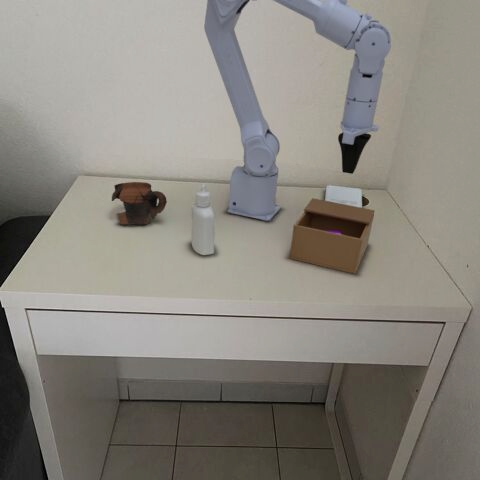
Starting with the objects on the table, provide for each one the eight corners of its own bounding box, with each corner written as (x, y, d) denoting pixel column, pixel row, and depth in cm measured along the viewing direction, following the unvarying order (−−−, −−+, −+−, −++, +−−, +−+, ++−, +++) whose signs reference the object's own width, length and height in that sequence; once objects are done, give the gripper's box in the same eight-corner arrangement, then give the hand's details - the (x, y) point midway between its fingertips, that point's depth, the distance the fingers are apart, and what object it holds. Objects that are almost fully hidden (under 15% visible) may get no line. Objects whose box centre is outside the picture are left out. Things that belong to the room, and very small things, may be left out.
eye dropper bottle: (215, 242, 93) (217, 180, 86) (213, 256, 88) (215, 192, 81) (192, 241, 93) (192, 179, 86) (189, 255, 88) (188, 190, 81)
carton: (307, 232, 98) (311, 201, 95) (367, 245, 95) (374, 214, 91) (289, 258, 89) (293, 225, 85) (355, 273, 86) (362, 240, 82)
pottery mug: (104, 226, 97) (100, 183, 96) (129, 229, 106) (126, 190, 105) (158, 221, 93) (155, 176, 92) (180, 224, 102) (177, 183, 101)
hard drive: (360, 195, 117) (361, 216, 107) (325, 191, 118) (323, 211, 108) (361, 188, 116) (362, 209, 106) (326, 184, 117) (324, 204, 107)
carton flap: (312, 200, 94) (312, 198, 94) (374, 212, 91) (374, 210, 91) (303, 211, 90) (304, 209, 90) (368, 224, 87) (369, 222, 86)
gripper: (377, 109, 83) (361, 187, 91) (389, 94, 95) (374, 165, 102) (336, 104, 85) (324, 180, 93) (353, 89, 96) (341, 159, 104)
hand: (348, 172), depth 98 cm, fingers closed
